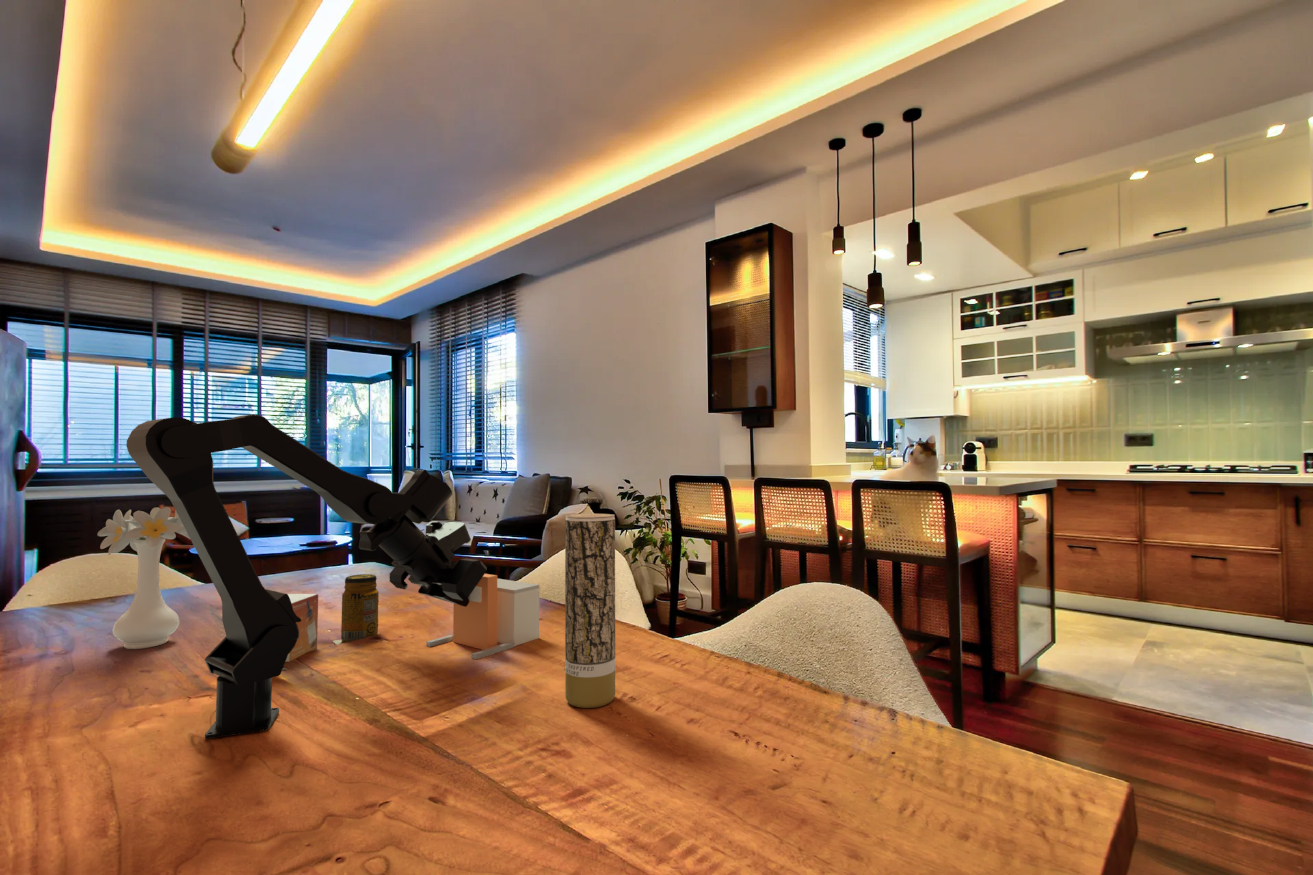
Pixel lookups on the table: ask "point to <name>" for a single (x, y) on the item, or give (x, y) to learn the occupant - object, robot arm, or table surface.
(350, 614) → the condiment
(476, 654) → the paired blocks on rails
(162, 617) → the flower vase
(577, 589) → the paper tube
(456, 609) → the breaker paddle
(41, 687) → the table surface
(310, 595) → the small box
